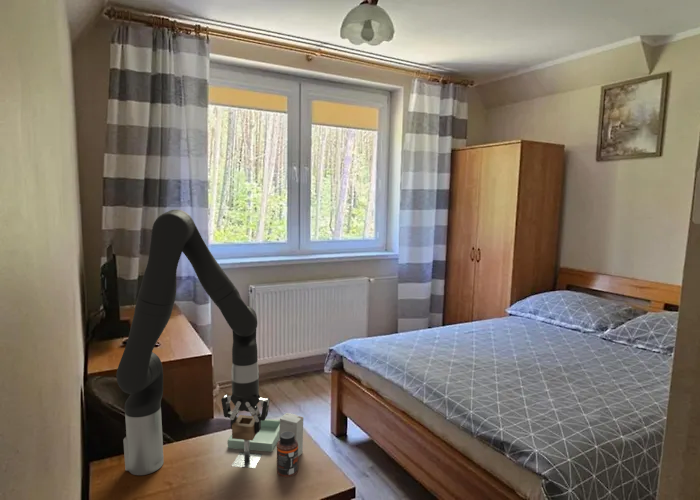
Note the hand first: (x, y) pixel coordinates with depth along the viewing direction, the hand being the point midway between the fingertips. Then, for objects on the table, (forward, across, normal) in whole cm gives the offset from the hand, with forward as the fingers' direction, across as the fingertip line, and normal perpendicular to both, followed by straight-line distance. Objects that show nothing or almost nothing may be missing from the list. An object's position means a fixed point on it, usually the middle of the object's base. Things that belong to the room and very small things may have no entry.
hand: (246, 431), depth 130 cm
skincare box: (+10, +12, +5) cm, 16 cm away
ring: (+1, 0, 0) cm, 1 cm away
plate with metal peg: (+9, 0, 0) cm, 9 cm away
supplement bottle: (+10, +13, -3) cm, 17 cm away
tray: (+9, -1, +12) cm, 15 cm away
